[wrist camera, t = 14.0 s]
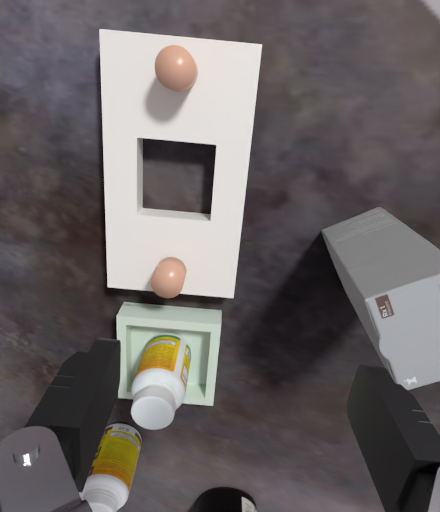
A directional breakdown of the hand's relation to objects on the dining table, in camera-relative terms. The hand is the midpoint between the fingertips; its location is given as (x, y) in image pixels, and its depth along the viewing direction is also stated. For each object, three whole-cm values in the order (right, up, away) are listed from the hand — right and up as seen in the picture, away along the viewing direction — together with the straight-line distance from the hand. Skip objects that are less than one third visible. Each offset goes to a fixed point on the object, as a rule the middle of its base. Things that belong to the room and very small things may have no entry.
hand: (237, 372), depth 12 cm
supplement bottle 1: (-14, -20, +37) cm, 44 cm away
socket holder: (-5, +12, +24) cm, 27 cm away
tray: (-6, -7, +31) cm, 32 cm away
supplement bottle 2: (-7, -7, +30) cm, 32 cm away
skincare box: (+14, +5, +26) cm, 30 cm away
